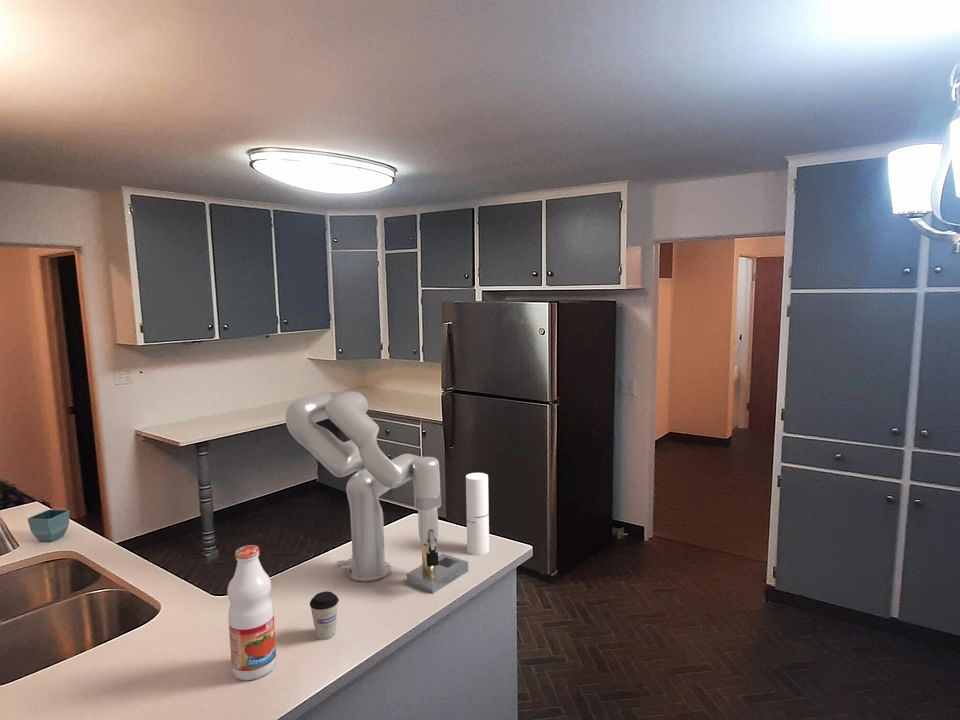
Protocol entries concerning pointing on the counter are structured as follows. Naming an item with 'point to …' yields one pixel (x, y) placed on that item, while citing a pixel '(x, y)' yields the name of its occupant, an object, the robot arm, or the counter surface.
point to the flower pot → (49, 524)
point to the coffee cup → (324, 614)
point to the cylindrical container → (477, 513)
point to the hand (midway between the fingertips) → (430, 558)
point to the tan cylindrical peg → (425, 569)
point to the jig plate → (438, 574)
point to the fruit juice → (251, 617)
